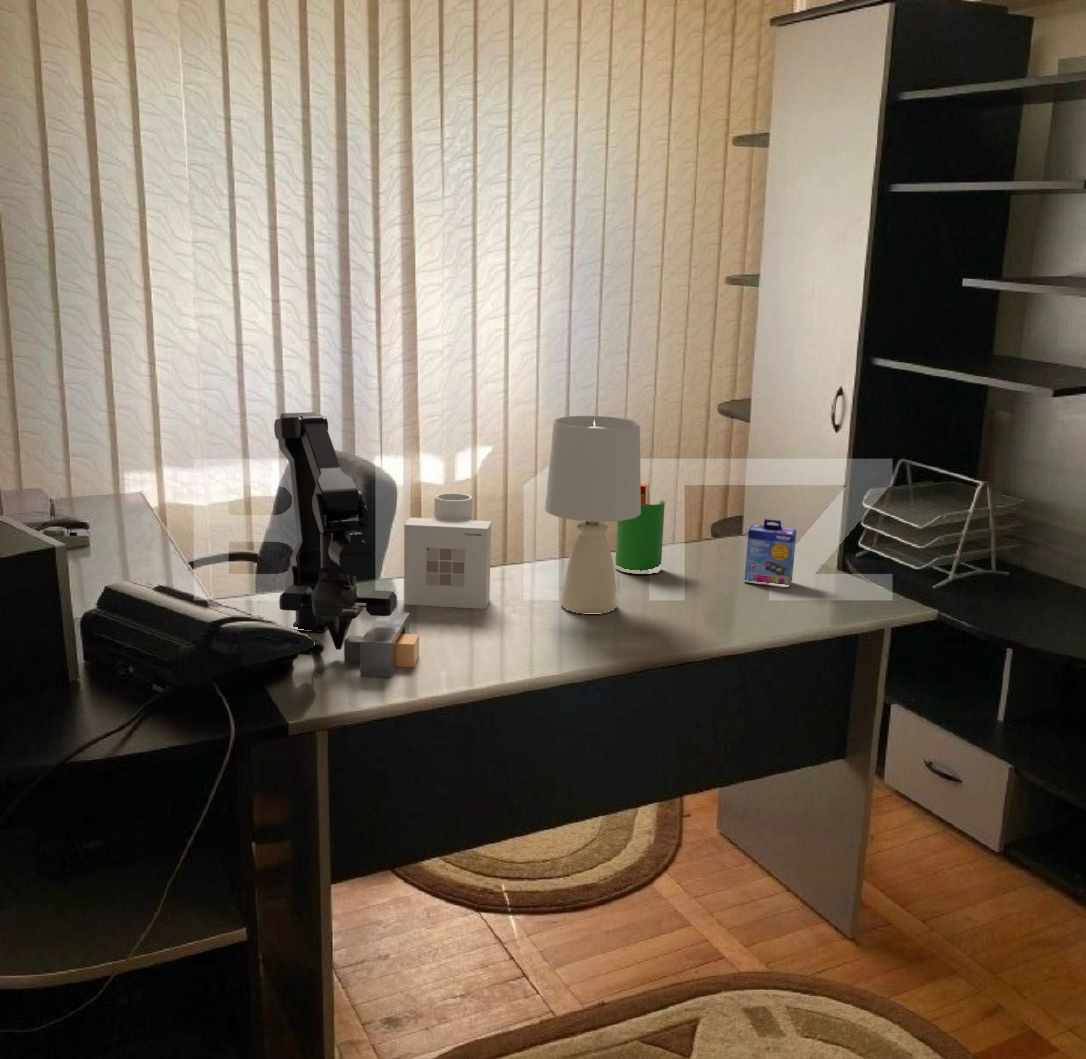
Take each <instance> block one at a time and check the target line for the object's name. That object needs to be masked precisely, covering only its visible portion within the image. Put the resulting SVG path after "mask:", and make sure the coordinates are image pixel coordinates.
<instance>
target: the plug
mask: <svg viewBox="0 0 1086 1059" xmlns="http://www.w3.org/2000/svg"><path fill="white" fill-rule="evenodd" d="M363 637H364V635H347V636H346V637H345V640H344V643H343V649H344V651H343V652H344V653H343V654H344V655H343V658H344V660H343V661H344V662H353V663H356V662H357V663H360V641H361V640H362V638H363ZM419 658H420V634H414V633H413V634H411V633H410V634H400V635H399V637H398V638H397V640H396V667H404V668H405V667H406V668H415V666H416V663H417V662H418V660H419Z"/></svg>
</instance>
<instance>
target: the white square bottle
mask: <svg viewBox="0 0 1086 1059" xmlns="http://www.w3.org/2000/svg"><path fill="white" fill-rule="evenodd" d="M433 506H434V512H433V516H432V517H429V518H427V517H409V518H408V519H407V520H406V522H405V524H404V531H403V532H404V533H403V534H404V537H403V538H404V539H403V540H404V541H403V542H404V544H403V545H404V546H403V548H404V549H403V550H404V552H403V556H404V558H403V561H404V562H403V574H404V576H403V579H404V580H403V584H404V586H403V587H404V588H403V592H404V593H403V605H405V606H420V607H421V606H424V607H425V606H426V607H440V608H441V607H443V608H461V609H462V608H463V609H479V610H480V609H481V610H486V609H487V607H488V606H489V603H490V599H491V597H490V593H491V592H490V590H491V588H490V587H491V555H492V554H491V550H492V549H491V546H492V545H491V542H492V541H491V540H492V521H491V520H489V521H487V520H473V497H472V496H471V495H470V494H467V493H460V492H459V493H458V492H457V493H456V492H445V493H438V494H436V495H434V505H433Z"/></svg>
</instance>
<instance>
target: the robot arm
mask: <svg viewBox="0 0 1086 1059" xmlns="http://www.w3.org/2000/svg"><path fill="white" fill-rule="evenodd" d="M273 425H274V426H273V427H274V436H275V439H276V440H278V447H279V450H280V452H281V453H282V454H283V456H284V457H285V458H286V460H287V461H288V463H289V467H290V477H291V478H290V479H291V485H292V486H291V487H292V498H293V508H294V516H295V517H294V518H295V527H296V528H295V529H296V538H297V539H296V540H297V542H296V545H295V548H294V549H293V552H292V554H291V556H290V558H289V560H290V561H289V562H290V566H289V567H288V569H287V573H286V576H285V578H284V591H283V592H282V593H281V594H280V595H279V610H281V611H294V612H295V621H294V622H293V623H292V624H293V627H298V629H304V630H309V631H308V632H312V631H322V632H321V633H325V632H326V631H327V630H328V632H329V634H330V637H331V640H332V642H333V645H334V647H335V650H339V651H340V650H342V648H343V647H344V641H345V640H346V638H347V636H348V635H347V634H348V631H349V628H350V626H351V623H352V622H353V619H357V618H358V616H359V615H360V614H361V613H362V612H363V610H364V608H365V610H366V612H367V613H368V614H369V615H370V616H375V617H378V616H390V615H391V614H392V612H395V609H397V603H398V602H397V601H398V600H397V598H398V597H397V595H396V593H395V592H394V591H391V590H376V589H375V590H372V592H370V594H369V595H357V591H358V586H357V585H356V584H357V583H356V582H357V581H356V580H357V579H356V577H358V576H362V575H364V574H365V573H367V572H368V571H370V569H371V568H372V566H373V563H374V559H375V554H374V552H373V549H372V547H371V546H370V545H369V544H368V543H367V542H366V541H364V540H363V537H362V536H363V535H362V533H361V531H369V529H370V528H369V522H370V516H369V512H368V509H367V506H366V501H365V499H364V497H363V495H362V492H361V491H360V490H359V488H358V487H357V485H356V483H355V481H354V478H352V477H351V476H349V475H348V474H346V473H345V472H343V469H342V468H341V465H340V462H339V458H338V457H337V453H336V450H335V448H334V444H333V442H332V440H331V439H332V438H331V435H330V433H329V423H328V417H327V416H325V415H322V414H317V412H315V411H313V412H309V411H308V412H282V413H281V414H280V415H279V418H278V419H277V418H276V419H275V420H274V424H273ZM357 518H358V519H357ZM327 628H328V629H327ZM326 629H327V630H326ZM310 630H311V631H310ZM325 630H326V631H325ZM324 631H325V632H324Z"/></svg>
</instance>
